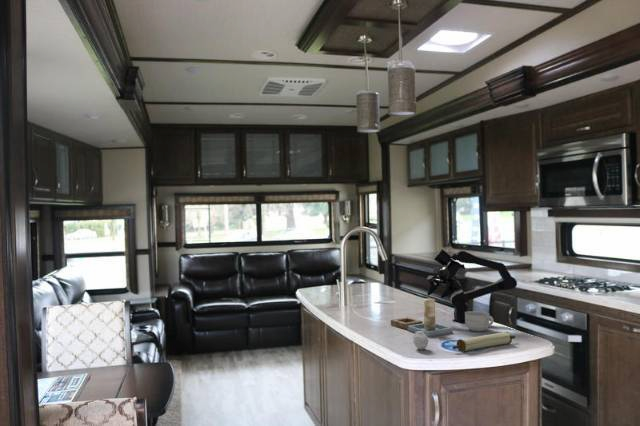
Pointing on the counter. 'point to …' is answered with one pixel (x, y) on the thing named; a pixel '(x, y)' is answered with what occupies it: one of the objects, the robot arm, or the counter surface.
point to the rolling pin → (483, 341)
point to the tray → (439, 331)
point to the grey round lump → (420, 340)
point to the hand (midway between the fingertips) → (434, 296)
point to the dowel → (429, 314)
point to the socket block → (405, 322)
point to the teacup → (477, 320)
